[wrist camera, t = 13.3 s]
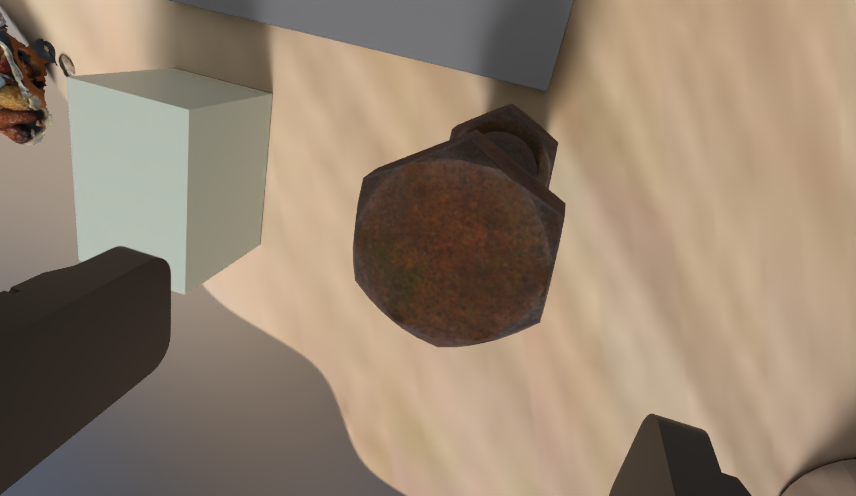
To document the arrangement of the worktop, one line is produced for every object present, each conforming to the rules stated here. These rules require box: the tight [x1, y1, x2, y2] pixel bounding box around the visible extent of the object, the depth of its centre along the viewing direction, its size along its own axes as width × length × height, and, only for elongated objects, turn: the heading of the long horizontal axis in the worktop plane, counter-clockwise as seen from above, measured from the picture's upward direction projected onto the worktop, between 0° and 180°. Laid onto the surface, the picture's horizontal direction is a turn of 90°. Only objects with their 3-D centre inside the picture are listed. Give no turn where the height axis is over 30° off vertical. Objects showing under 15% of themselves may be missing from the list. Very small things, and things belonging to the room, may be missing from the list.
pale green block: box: [67, 68, 273, 295], centre depth 28 cm, size 6×9×7 cm, turn 168°
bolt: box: [353, 104, 565, 347], centre depth 20 cm, size 6×5×15 cm
